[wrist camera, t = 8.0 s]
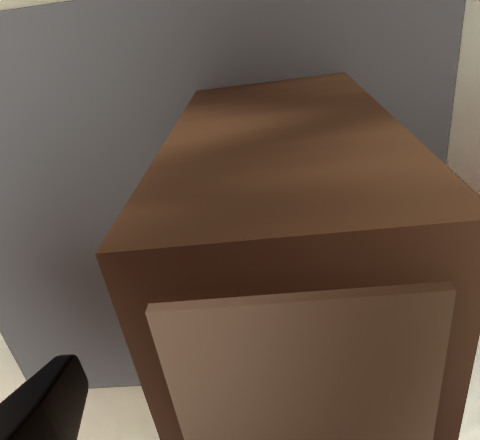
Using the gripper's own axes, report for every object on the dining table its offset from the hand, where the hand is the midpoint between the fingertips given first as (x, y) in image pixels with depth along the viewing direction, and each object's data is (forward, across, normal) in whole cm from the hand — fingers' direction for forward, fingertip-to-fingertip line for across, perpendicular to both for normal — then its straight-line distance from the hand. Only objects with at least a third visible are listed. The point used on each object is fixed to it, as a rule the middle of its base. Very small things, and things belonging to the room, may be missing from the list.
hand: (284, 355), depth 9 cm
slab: (+5, 0, 0) cm, 5 cm away
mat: (+6, +3, 0) cm, 6 cm away
